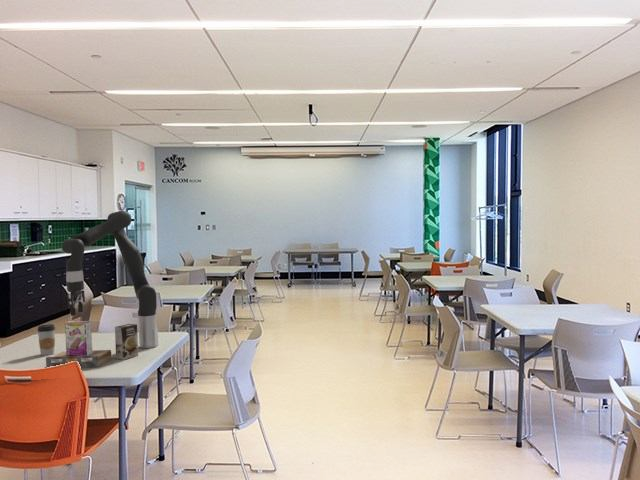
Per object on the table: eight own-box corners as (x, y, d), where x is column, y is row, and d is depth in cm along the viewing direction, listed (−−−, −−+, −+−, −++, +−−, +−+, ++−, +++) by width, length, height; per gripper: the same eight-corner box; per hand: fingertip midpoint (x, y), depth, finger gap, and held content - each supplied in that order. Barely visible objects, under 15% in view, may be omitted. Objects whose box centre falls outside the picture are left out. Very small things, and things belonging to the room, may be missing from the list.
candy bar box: (65, 356, 258) (64, 322, 257) (72, 353, 263) (70, 320, 262) (86, 356, 256) (85, 322, 255) (93, 354, 261) (91, 320, 260)
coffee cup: (38, 356, 275) (37, 328, 275) (38, 353, 283) (37, 325, 282) (56, 354, 279) (55, 326, 279) (56, 351, 287) (54, 323, 286)
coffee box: (124, 360, 263) (122, 327, 263) (115, 358, 267) (114, 326, 266) (139, 355, 271) (137, 324, 270) (130, 354, 275) (129, 323, 274)
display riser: (111, 357, 269) (110, 346, 269) (97, 367, 251) (97, 355, 251) (63, 359, 268) (62, 348, 268) (46, 369, 251) (45, 357, 251)
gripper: (73, 278, 265) (75, 311, 265) (60, 282, 250) (62, 316, 251) (88, 278, 265) (90, 310, 266) (76, 281, 251) (78, 316, 251)
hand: (77, 313), depth 258 cm, fingers open, 8 cm apart
